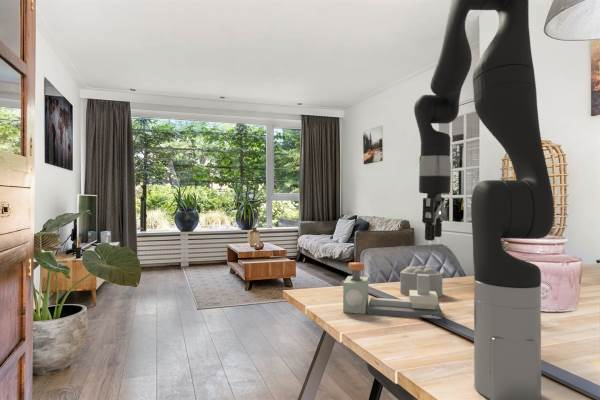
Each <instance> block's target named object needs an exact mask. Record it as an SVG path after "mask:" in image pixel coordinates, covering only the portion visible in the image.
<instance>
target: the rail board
mask: <svg viewBox="0 0 600 400" xmlns="http://www.w3.org/2000/svg"><path fill="white" fill-rule="evenodd" d="M366 313H367V315H375V316H376V315H377V316H389V317H401V318H417V319H421V318H420V315H432V316H437V317H440V318H443V319H444V314H443V311H442V309H441V305H440V303H439V301H438V305H436V310H434V309H420V308H412V303H410V299H397V298H383V297H370V299H369V301H368V307H367V311H366Z"/></svg>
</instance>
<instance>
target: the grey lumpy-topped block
mask: <svg viewBox="0 0 600 400" xmlns="http://www.w3.org/2000/svg"><path fill="white" fill-rule="evenodd" d="M399 274H400V275H399V277H400V278H399V280H400V282H399V283H400V291H399V292H400V294H401V295H402V296H408V297H409V290H417V274H429V291H436V294H437V296H438V298H440V297H443V273H442V272H440V271H438V270H436V269H435V268H433V267H430V266H429V267H428V266H427V267H426V266H424V265H418V266H414V265H413V266H412V265H411V266H407V267H406V268H404V269H402V271H400V273H399Z"/></svg>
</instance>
